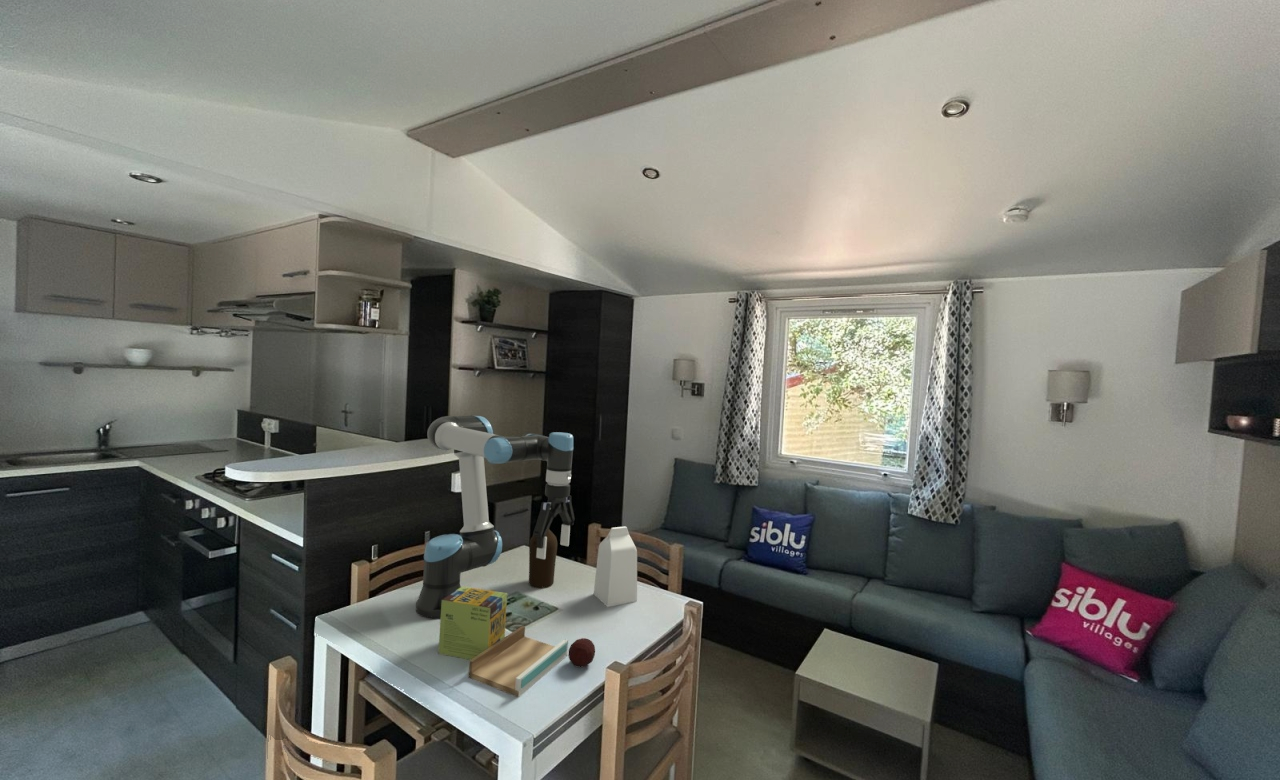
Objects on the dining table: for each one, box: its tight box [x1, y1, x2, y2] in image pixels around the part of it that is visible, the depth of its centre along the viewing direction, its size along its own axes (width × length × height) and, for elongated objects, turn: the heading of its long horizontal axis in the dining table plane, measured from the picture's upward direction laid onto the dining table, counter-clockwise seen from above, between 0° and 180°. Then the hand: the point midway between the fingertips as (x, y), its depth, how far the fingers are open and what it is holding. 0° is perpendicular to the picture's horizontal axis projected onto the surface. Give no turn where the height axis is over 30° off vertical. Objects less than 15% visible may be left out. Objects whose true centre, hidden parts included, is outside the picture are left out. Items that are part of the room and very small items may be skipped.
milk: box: [593, 526, 638, 608], centre depth 186 cm, size 12×12×26 cm
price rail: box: [515, 638, 569, 698], centre depth 135 cm, size 1×22×4 cm, turn 155°
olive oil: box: [528, 528, 558, 589], centre depth 194 cm, size 11×11×25 cm
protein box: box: [437, 586, 508, 661], centre depth 145 cm, size 10×15×16 cm
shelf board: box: [467, 636, 556, 698], centre depth 138 cm, size 16×22×2 cm
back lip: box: [468, 625, 526, 680], centre depth 141 cm, size 1×22×4 cm, turn 156°
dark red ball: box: [567, 637, 596, 668], centre depth 141 cm, size 7×8×7 cm
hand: (553, 551), depth 156 cm, fingers open, 13 cm apart
